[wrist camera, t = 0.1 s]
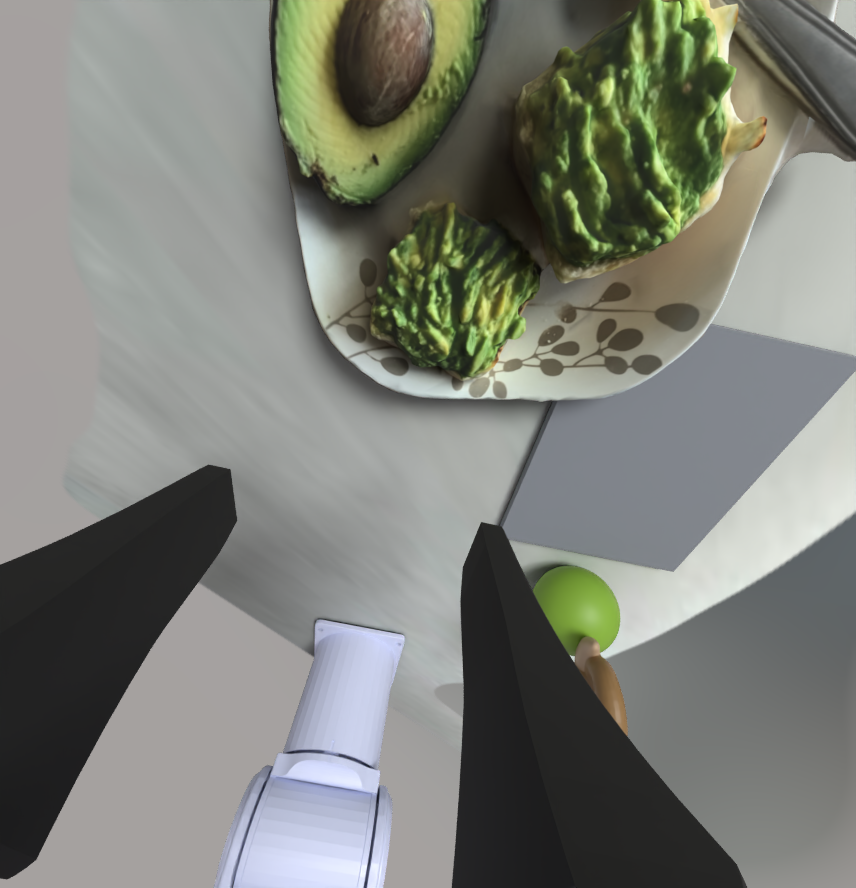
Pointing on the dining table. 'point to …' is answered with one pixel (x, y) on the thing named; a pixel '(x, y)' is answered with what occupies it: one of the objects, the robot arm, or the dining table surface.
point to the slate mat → (669, 448)
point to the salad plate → (541, 176)
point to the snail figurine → (585, 628)
